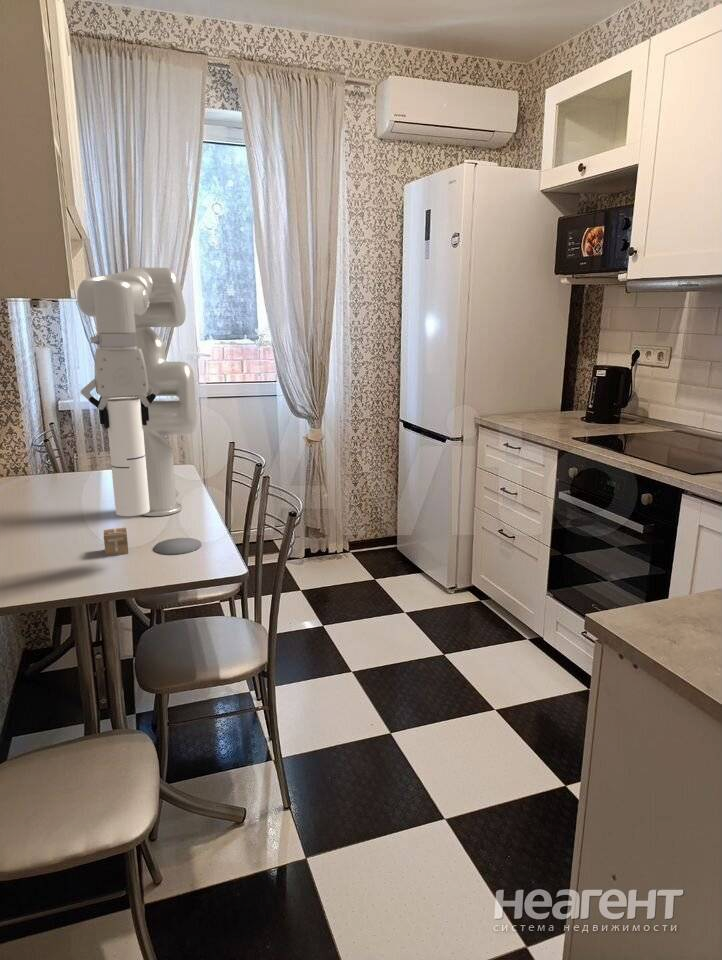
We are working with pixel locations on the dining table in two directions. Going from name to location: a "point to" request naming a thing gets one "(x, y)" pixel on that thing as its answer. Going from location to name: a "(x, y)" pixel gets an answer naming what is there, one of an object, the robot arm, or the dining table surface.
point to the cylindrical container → (128, 456)
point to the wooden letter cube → (115, 541)
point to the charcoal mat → (177, 546)
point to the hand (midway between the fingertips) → (125, 425)
